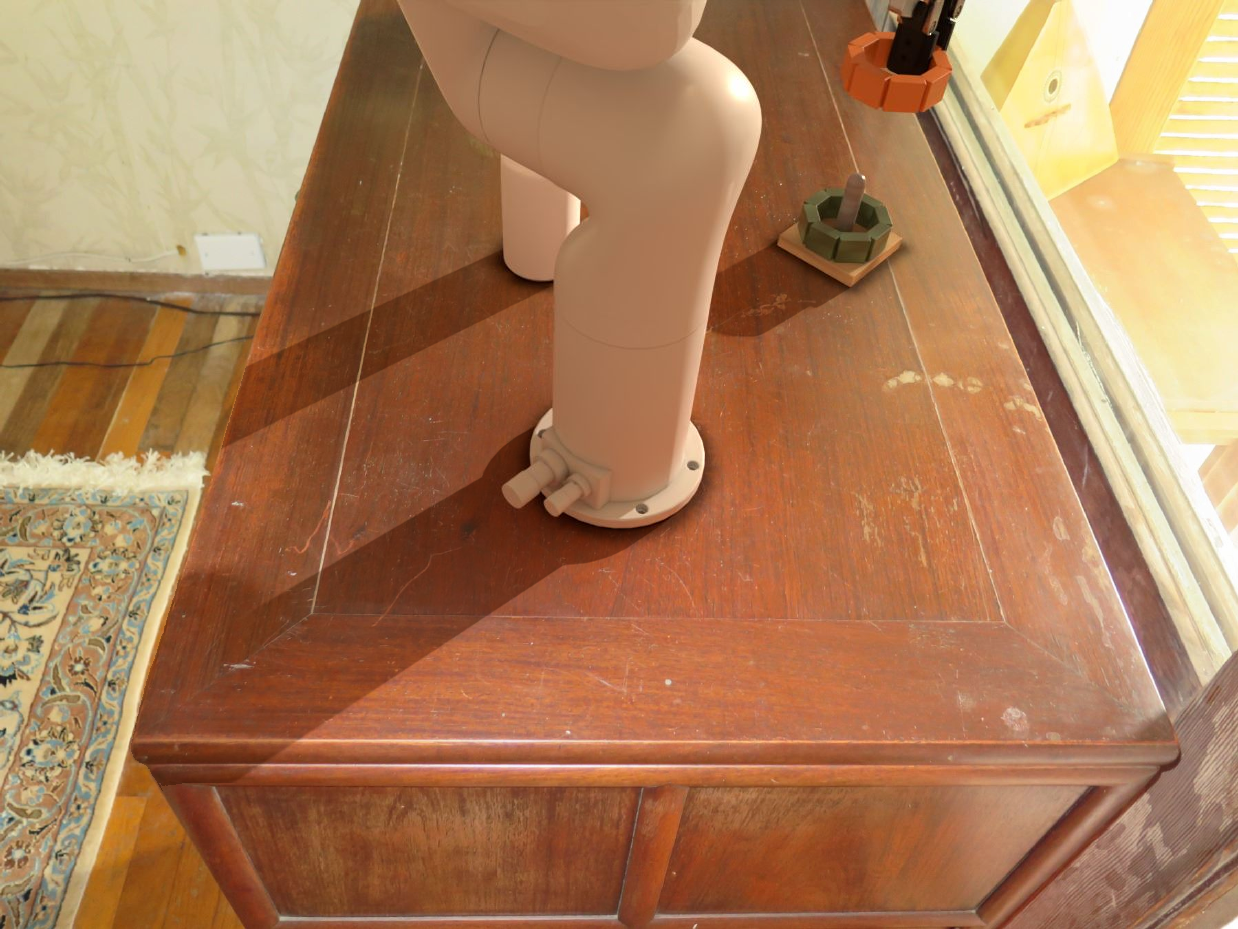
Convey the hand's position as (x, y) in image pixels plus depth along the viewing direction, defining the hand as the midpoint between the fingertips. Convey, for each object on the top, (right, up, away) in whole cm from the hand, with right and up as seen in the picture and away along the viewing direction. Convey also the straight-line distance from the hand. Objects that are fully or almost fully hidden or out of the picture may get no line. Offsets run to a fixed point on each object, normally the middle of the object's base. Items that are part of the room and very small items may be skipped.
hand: (913, 68), depth 78 cm
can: (-30, -13, +8) cm, 34 cm away
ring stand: (-3, -11, +12) cm, 17 cm away
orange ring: (-2, -2, -1) cm, 3 cm away
